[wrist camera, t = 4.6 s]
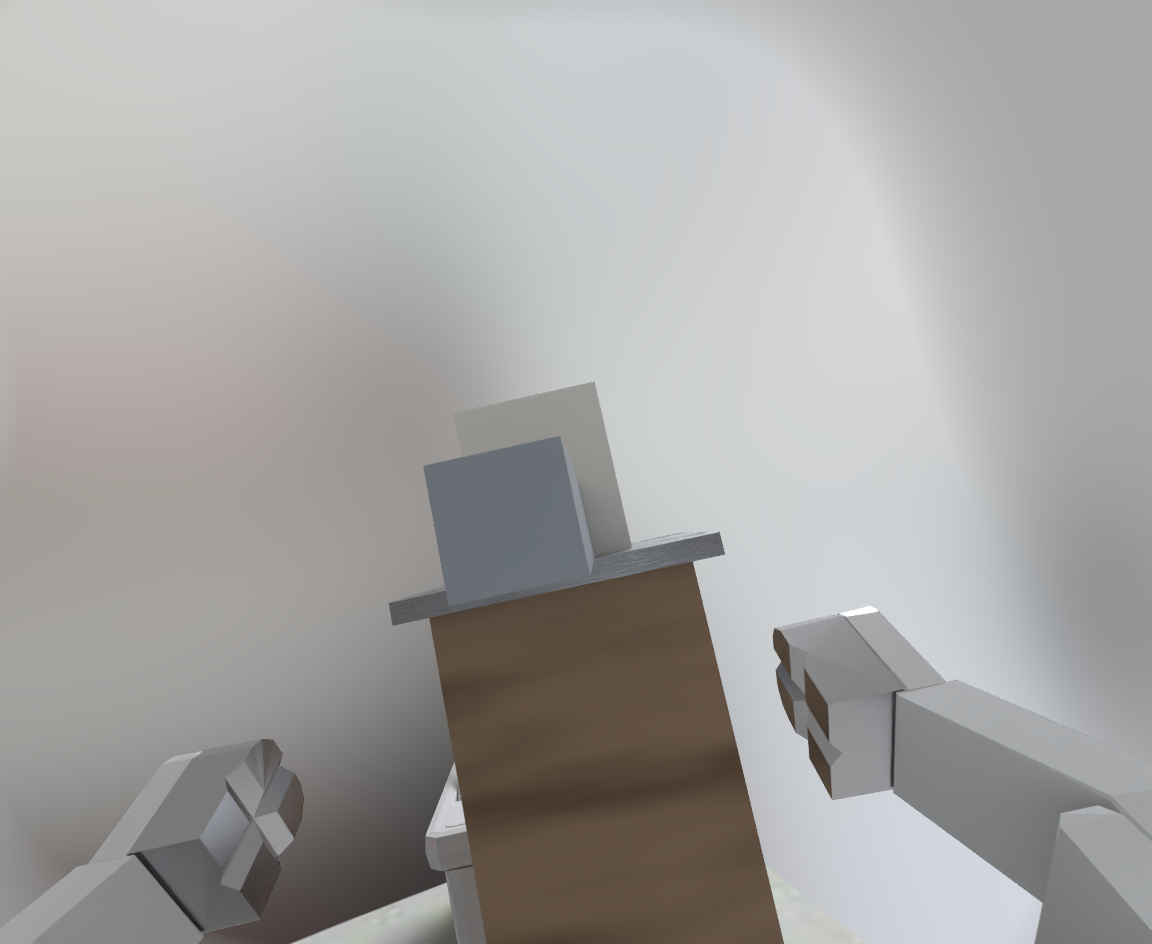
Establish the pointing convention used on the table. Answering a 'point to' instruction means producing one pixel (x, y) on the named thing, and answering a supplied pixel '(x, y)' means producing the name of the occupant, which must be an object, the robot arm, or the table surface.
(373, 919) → the table surface
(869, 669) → the robot arm
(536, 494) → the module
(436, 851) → the stereo radio cassette player
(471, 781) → the stand
